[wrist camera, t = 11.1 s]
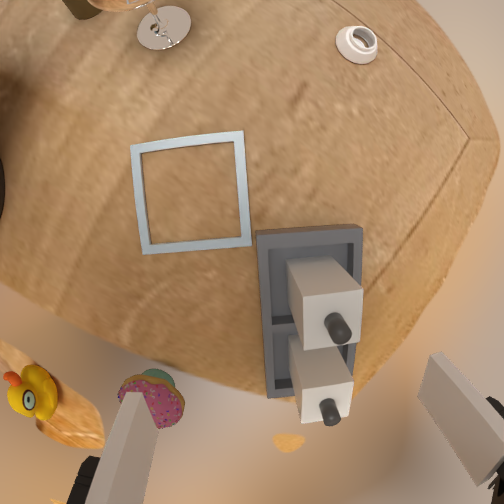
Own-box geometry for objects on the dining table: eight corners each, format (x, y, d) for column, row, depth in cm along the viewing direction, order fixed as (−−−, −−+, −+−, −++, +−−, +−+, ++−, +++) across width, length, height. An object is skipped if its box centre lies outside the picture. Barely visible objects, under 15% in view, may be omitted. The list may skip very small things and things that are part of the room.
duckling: (22, 344, 35) (-12, 377, 26) (44, 346, 36) (10, 383, 26) (47, 398, 38) (23, 434, 29) (70, 402, 39) (46, 442, 29)
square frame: (144, 253, 32) (142, 254, 32) (132, 145, 29) (130, 145, 29) (251, 244, 32) (251, 246, 32) (243, 131, 29) (243, 130, 29)
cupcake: (121, 383, 37) (93, 442, 26) (143, 345, 35) (112, 407, 24) (173, 411, 39) (158, 474, 27) (200, 377, 37) (188, 446, 25)
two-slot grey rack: (266, 386, 37) (267, 398, 35) (255, 230, 32) (256, 235, 30) (345, 376, 38) (350, 387, 35) (354, 223, 32) (362, 228, 30)
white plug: (288, 368, 36) (304, 440, 24) (288, 335, 35) (306, 406, 23) (326, 363, 36) (354, 431, 24) (328, 330, 35) (361, 397, 23)
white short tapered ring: (380, 62, 27) (365, 27, 26) (391, 55, 24) (374, 18, 23) (343, 67, 28) (328, 30, 26) (352, 59, 25) (335, 20, 23)
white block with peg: (287, 301, 34) (309, 367, 22) (285, 259, 32) (308, 310, 20) (330, 296, 34) (369, 356, 22) (330, 255, 32) (374, 301, 20)
